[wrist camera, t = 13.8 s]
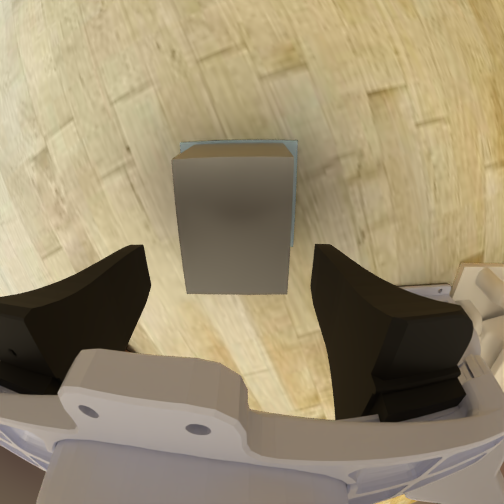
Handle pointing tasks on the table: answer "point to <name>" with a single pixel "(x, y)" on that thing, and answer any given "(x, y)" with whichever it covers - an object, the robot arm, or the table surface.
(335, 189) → the table surface
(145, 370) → the robot arm
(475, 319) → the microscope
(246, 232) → the taupe rectangular post
